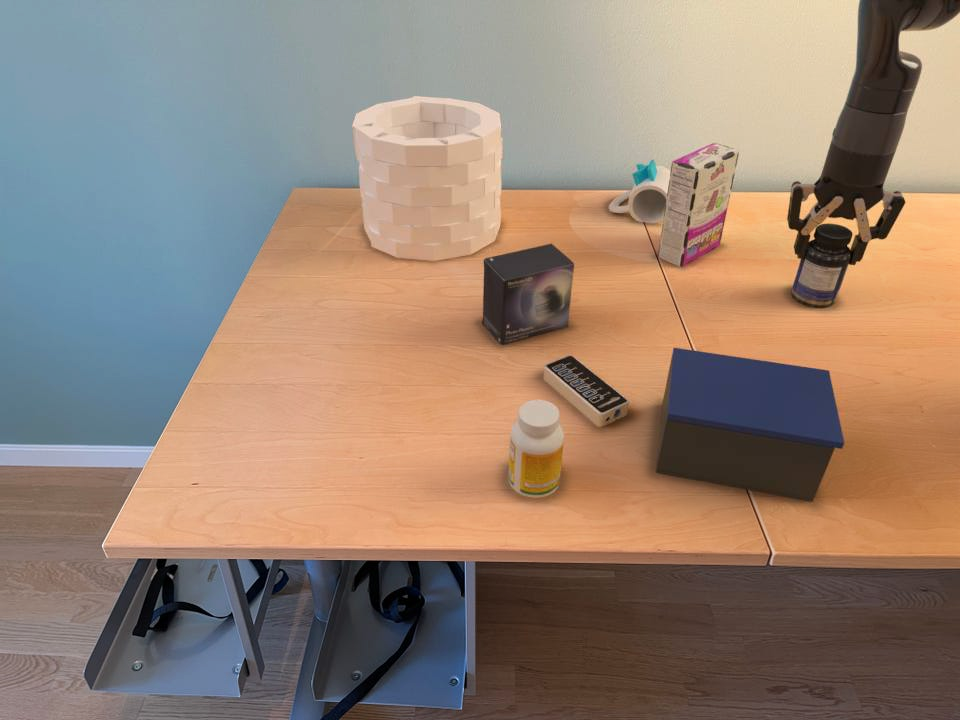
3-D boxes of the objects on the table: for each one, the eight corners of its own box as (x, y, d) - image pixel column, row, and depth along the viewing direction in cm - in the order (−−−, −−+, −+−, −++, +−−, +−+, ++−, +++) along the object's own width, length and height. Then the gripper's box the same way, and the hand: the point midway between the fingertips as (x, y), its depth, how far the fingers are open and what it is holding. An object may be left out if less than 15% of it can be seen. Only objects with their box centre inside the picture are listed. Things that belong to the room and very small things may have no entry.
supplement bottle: (498, 480, 73) (499, 411, 68) (533, 455, 76) (537, 387, 71) (535, 509, 70) (539, 439, 64) (570, 482, 73) (577, 413, 67)
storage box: (801, 429, 80) (820, 375, 75) (811, 504, 71) (835, 448, 66) (661, 406, 83) (672, 353, 78) (655, 475, 74) (666, 420, 69)
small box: (501, 349, 92) (503, 280, 86) (480, 324, 97) (480, 257, 91) (570, 329, 96) (576, 262, 90) (546, 306, 101) (551, 241, 94)
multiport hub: (569, 368, 89) (571, 353, 87) (628, 416, 81) (630, 401, 80) (541, 379, 87) (542, 365, 86) (599, 430, 80) (601, 415, 78)
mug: (668, 145, 125) (661, 169, 116) (681, 192, 129) (675, 218, 120) (606, 163, 130) (594, 188, 121) (620, 208, 134) (609, 234, 125)
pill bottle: (805, 284, 105) (827, 216, 99) (843, 301, 101) (868, 232, 95) (781, 297, 103) (801, 228, 96) (818, 315, 99) (842, 245, 92)
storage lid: (827, 376, 75) (829, 370, 74) (842, 449, 66) (844, 443, 65) (672, 353, 78) (673, 347, 78) (666, 419, 69) (668, 413, 69)
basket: (488, 268, 110) (489, 150, 98) (343, 255, 113) (328, 140, 102) (511, 203, 129) (514, 98, 118) (387, 194, 133) (378, 91, 121)
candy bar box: (694, 237, 118) (713, 141, 108) (720, 247, 115) (742, 149, 105) (654, 258, 112) (670, 159, 102) (680, 270, 109) (700, 168, 99)
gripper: (806, 146, 87) (773, 265, 97) (934, 157, 84) (885, 279, 94) (801, 127, 92) (769, 241, 102) (920, 136, 89) (876, 253, 99)
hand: (825, 259), depth 98 cm, fingers closed on pill bottle, 6 cm apart
